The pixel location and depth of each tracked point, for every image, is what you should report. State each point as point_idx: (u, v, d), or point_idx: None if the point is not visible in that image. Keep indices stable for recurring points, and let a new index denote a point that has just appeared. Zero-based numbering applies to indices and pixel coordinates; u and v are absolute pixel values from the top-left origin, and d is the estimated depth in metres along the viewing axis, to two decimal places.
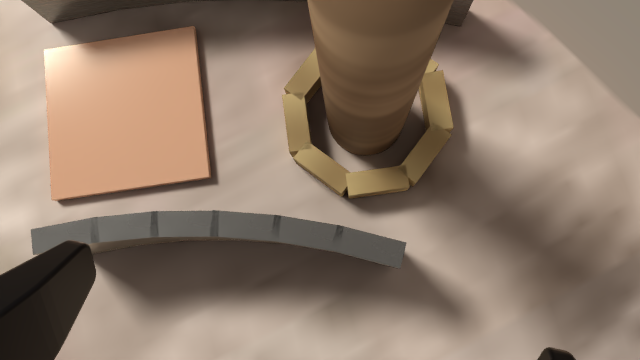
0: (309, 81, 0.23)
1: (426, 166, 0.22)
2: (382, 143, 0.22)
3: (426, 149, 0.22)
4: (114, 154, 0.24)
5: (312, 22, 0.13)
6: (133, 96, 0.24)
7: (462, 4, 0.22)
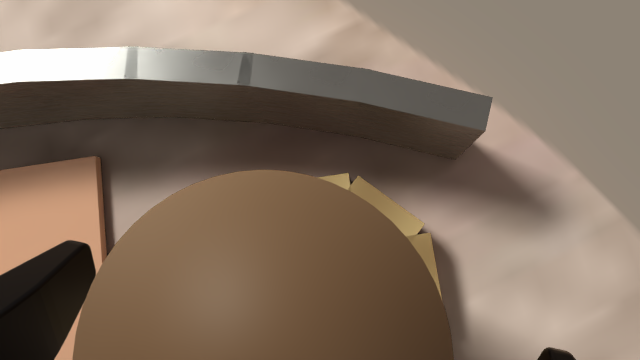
0: None
1: None
2: None
3: None
4: None
5: None
6: (11, 254, 0.18)
7: (456, 144, 0.16)
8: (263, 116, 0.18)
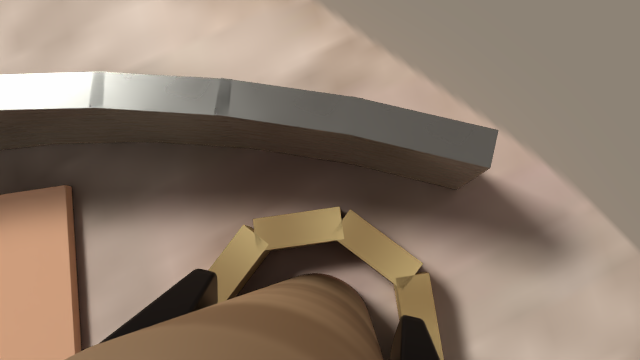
0: (227, 285, 0.15)
1: None
2: None
3: None
4: None
5: None
6: None
7: (458, 177, 0.15)
8: (247, 143, 0.16)
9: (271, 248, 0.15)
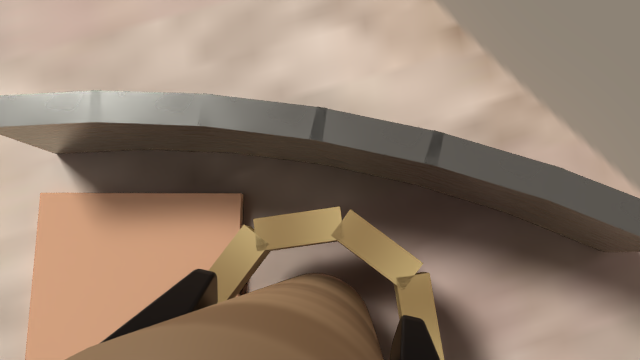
0: (227, 285, 0.15)
1: None
2: None
3: None
4: None
5: None
6: (148, 279, 0.18)
7: (623, 247, 0.16)
8: (417, 181, 0.18)
9: (271, 248, 0.15)
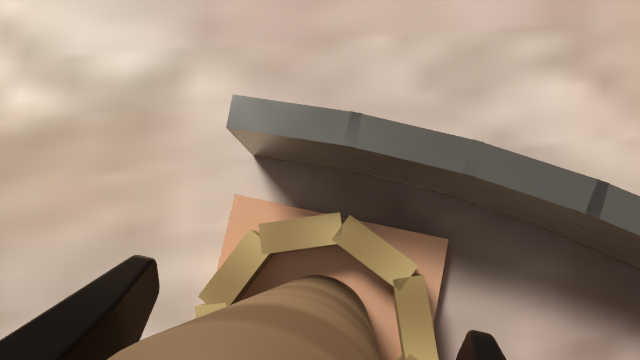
0: (234, 287, 0.16)
1: None
2: None
3: None
4: None
5: None
6: None
7: None
8: None
9: (275, 251, 0.16)
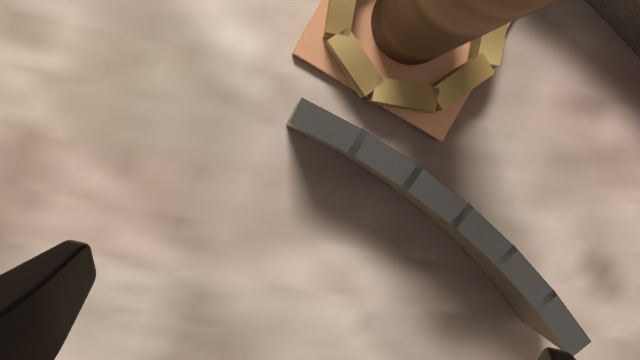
0: None
1: (459, 96, 0.21)
2: (427, 58, 0.20)
3: (465, 79, 0.21)
4: (376, 55, 0.22)
5: None
6: None
7: None
8: None
9: None
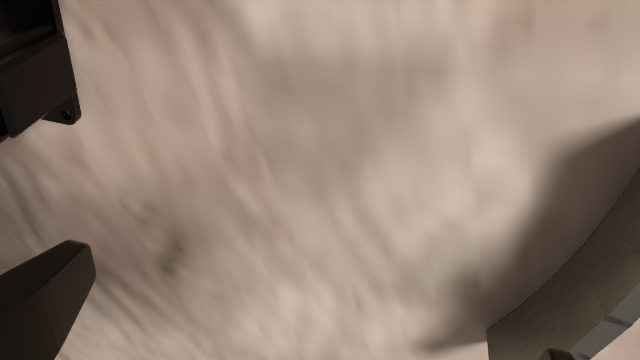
0: None
1: None
2: None
3: None
4: None
5: None
6: None
7: None
8: None
9: None
